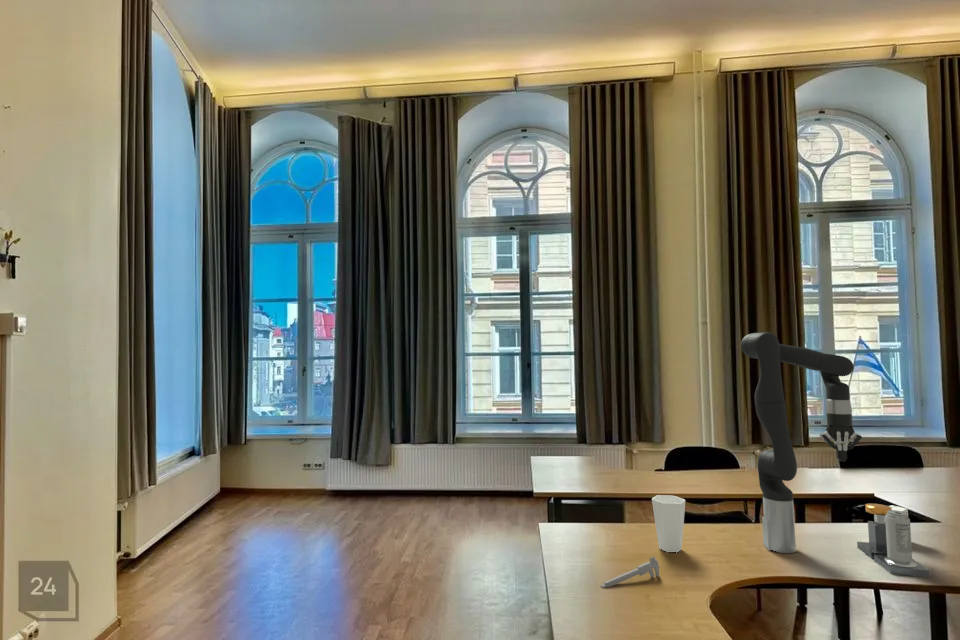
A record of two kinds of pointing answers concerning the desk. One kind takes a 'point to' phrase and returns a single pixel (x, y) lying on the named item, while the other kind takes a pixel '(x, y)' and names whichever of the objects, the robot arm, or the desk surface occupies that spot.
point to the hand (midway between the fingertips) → (841, 460)
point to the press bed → (901, 567)
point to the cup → (669, 521)
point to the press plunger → (878, 512)
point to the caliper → (635, 572)
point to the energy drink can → (898, 537)
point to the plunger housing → (875, 540)
